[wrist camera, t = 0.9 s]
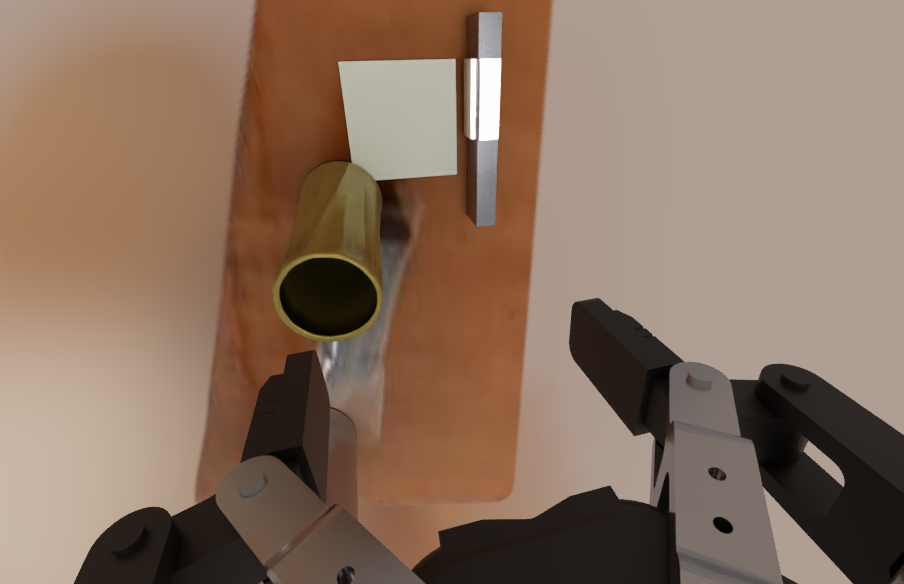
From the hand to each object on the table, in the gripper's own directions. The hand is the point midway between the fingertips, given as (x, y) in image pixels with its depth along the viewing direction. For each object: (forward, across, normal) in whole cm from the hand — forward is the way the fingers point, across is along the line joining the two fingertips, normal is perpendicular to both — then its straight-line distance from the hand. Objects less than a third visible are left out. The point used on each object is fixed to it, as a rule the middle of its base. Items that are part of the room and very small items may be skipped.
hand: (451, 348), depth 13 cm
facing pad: (+22, -2, -4) cm, 23 cm away
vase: (+23, +4, +1) cm, 23 cm away
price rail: (+22, -7, -3) cm, 24 cm away
